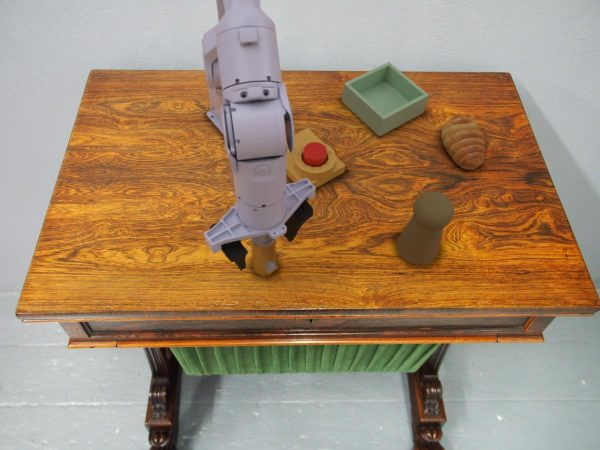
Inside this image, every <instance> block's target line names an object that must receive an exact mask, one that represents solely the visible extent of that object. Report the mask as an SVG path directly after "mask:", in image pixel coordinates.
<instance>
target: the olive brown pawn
mask: <svg viewBox="0 0 600 450" xmlns="http://www.w3.org/2000/svg"><path fill="white" fill-rule="evenodd" d="M412 214H413V215H412V216H411V218H410V219H409V221H408V222H407V224H406V226H405V227H404V228H403V229H402V231H401V232H400V234H399V235H398V237H397V240H396V243H395V244H396V250H397V252H398V254H399V256H400V257H401V258H402V259H403V260H404V261H406V262H407V263H409V264H411V265H415V266H424V265H429V264H430V263H432V262H433V261H434V260H435V259H436V257H437V256H438V251H439V247H440V244H441V240H442V235H443V232H444V228H445V227H448V225H449V224H450V223H451V222H452V221H453V218H454V216H455V207H454V203H453V202H452V200H451V199H450V197H448V195H446V194H444V193H443V192H440V191H437V190H431V191H426V192H423V193H422V194H420V195H419V196H418V197H417V198H416V200H415V201H414V203H413V207H412Z"/></svg>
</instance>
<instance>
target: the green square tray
mask: <svg viewBox="0 0 600 450" xmlns="http://www.w3.org/2000/svg"><path fill="white" fill-rule="evenodd" d="M342 87H343V88H342V95H341V102H342V104H344V105H345V106H346V107H347V108H348V109H349V110H350V111H351V112H352V113H353V114H355V116H356V117H358V119H360V120H361V121H362V122H363V123H364V124H365V125H366V126H367V127H368V128H370V130H371V131H372V132H374V133H375V134H376V135H377V136H378V137H381V136H383V135H385V134H387V133H389V132H390V131H392V130H394V129H396V128H398V127H400V126H402V125H403V124H406V123H407V122H409V121H411V120H412V119H415V118H416V117H418V116H420V115H422V114H424V112H425V109H426V106H427V103H428V101H429V97H430V94H428V92H426V91H425V90H423V89H422V87H420V86H419V85H418V84H416V83H415V82H414V81H413V80H411V79H410V78H409V77H408V76H407V75H405V73H403V72H402V71H400V69H398V68H397V67H396V66H395V65H393V64H392V63H391V62H390V61H388V62H385V63H384V64H381V65H379V66H378V67H375V68H373V69H371V70H368V71H367V72H364V73H363V74H361V75H358V76H357V77H354V78H352V79H350V80H348V81H346V82H344V83H343V86H342Z"/></svg>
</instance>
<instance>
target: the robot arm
mask: <svg viewBox="0 0 600 450" xmlns="http://www.w3.org/2000/svg"><path fill="white" fill-rule="evenodd" d="M215 3H216V12H217V21H218V22H217V24H216V25H214V26H213V27H212V28H211V29H209V30H208V31H206V32H205V33H203V35H202V39H201V47H202V50H201V51H202V61H203V68H204V75H205V76H204V77H205V81H206V86H207V93H208V99H209V105H210V110H209V111H207V112H206V116H207V118H208V119H209V120H210V121H211V123H212V124H213V125H214V126H215V128H217V129H218V131H219V132H220V133H221V134H222V135H223V142H224V147H225V148H224V149H225V152H226V155H227V157H228V161H229V164H230V171H231V172H232V179H233V180H232V181H233V187H234V188H233V189H234V196H235V203H234V205H233V206H232V207H231V208H230V209H229V210H228V211H227V212H226V213H225V214H224V215H223V216H222V218H220V220H218V221H216V222H214V223H213V224H211V225H210V227H209V228H208V230H207V231H204V232H203V236H204V240H205V243H206V245H207V246H208V248H209V249H210V250H211V252H212V253H213V254H214V255H215V254H216V253H218V252H222V253H223V254H224V256H225V257H226V258H227V260H229V261H230V263H234V264H235V265H236V266H237V269H239V271H244V270H246V269H247V262H246V258H247V256H248V254H249V251H248V250H247V249H246V247H245V246H244V244H243V243H242V240H248V239H251V238H252V237H257V236H261V235H266V234H267V235H269V236H270V237H271V238H272V239H279V238H281V237H282V236H284V238H285V239H286V240H287V241H288V242H289V243H291V242H293V241H294V240H295V238H296V236H297V234H298V233H299V231H300V230H301V228H302V227H303V225H304V224H305V223H306V222H307V221H308V220H309V219H310V218H312V217H313V216H314V208H313V207H312V205H311V204H310V203H309V202H308V201H311V200H312V199H315V198H316V191H317V190H316V188H315V187H314V186H313V184H312V183H311V182H310V181H309V180H308V179H307V178H305V179H303V180H301V181H298V182H290V183H287V174H286V171H287V146H286V140H287V145H288V149H289V151H290V153H293V148H294V135H295V124H294V123H295V122H294V116H293V110H292V106H291V103H290V100H289V96H288V92H287V91H288V90H287V85H286V82H283V79H282V72H281V71H282V69H281V61H280V55H279V46H278V45H279V44H278V38H277V29H276V24H275V22H274V21H273V20H272V19H271V18H270V17H269V16H268V15H267V14H266V12H264V11H263V10H262V8H261V0H215Z"/></svg>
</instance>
